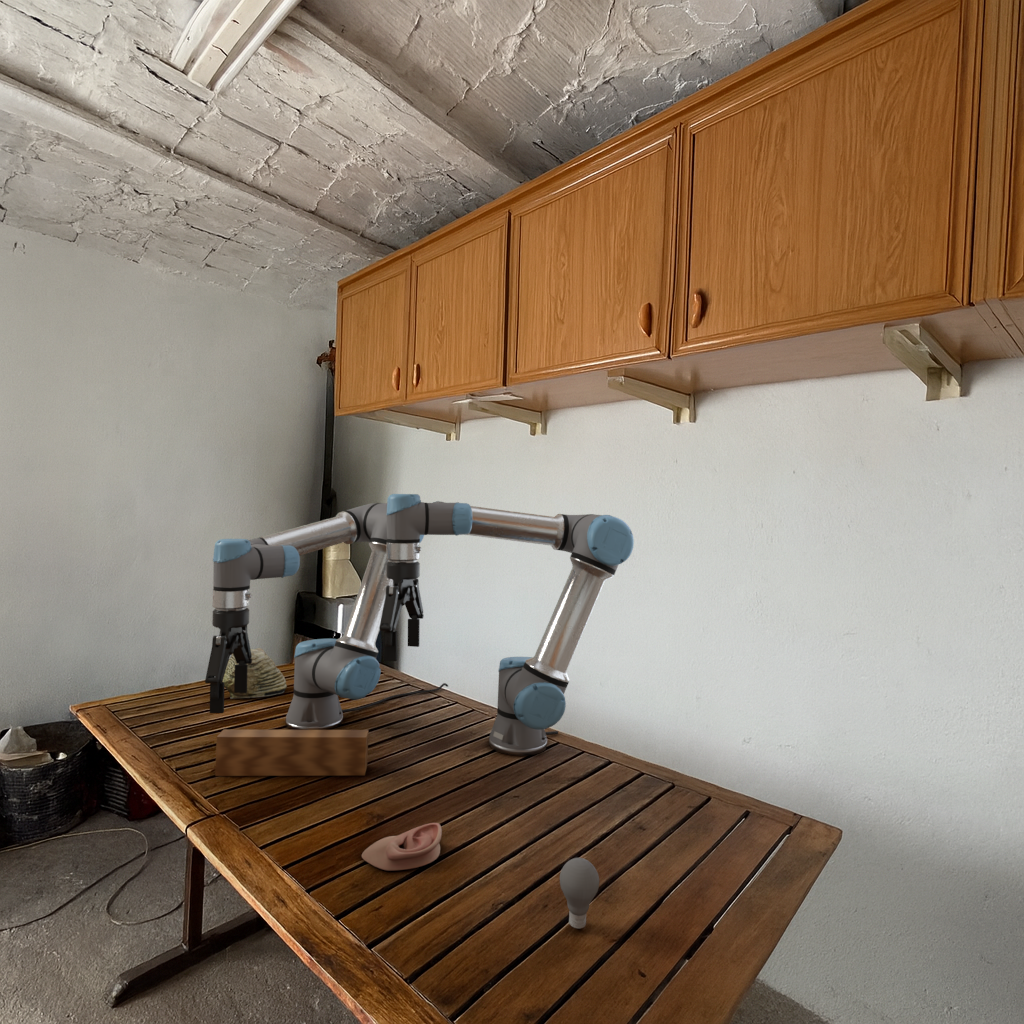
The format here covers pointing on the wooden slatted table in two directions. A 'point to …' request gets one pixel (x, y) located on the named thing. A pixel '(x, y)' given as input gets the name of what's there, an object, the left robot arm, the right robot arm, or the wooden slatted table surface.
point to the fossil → (256, 676)
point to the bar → (291, 752)
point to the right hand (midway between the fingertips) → (402, 653)
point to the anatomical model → (406, 849)
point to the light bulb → (579, 888)
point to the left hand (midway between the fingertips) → (229, 702)
